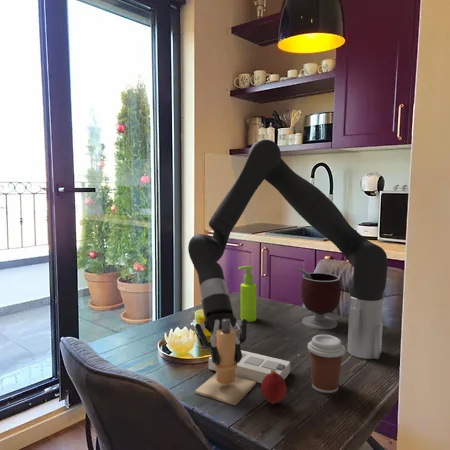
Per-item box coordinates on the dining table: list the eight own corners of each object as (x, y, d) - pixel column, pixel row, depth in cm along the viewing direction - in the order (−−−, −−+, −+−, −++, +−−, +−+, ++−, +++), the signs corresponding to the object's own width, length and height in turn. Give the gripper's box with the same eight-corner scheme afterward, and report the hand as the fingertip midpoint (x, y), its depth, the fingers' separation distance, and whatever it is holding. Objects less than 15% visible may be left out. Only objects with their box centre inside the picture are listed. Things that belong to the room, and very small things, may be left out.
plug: (240, 377, 97) (241, 318, 95) (230, 387, 92) (230, 325, 90) (221, 371, 99) (221, 314, 98) (210, 381, 94) (210, 321, 93)
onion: (283, 396, 92) (284, 363, 91) (288, 410, 86) (289, 376, 86) (259, 396, 92) (259, 364, 91) (262, 410, 86) (262, 376, 85)
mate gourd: (336, 317, 147) (338, 265, 145) (342, 331, 133) (344, 274, 131) (295, 315, 149) (296, 264, 147) (296, 328, 135) (297, 272, 133)
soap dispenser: (235, 317, 146) (235, 265, 144) (252, 315, 149) (253, 264, 146) (240, 322, 141) (241, 268, 139) (258, 320, 143) (259, 267, 141)
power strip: (290, 372, 104) (290, 360, 103) (277, 387, 96) (278, 374, 96) (224, 356, 113) (224, 345, 113) (208, 369, 106) (208, 357, 105)
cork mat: (255, 384, 98) (255, 381, 98) (235, 405, 88) (235, 403, 88) (217, 373, 103) (217, 371, 103) (195, 392, 93) (195, 390, 93)
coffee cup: (339, 400, 91) (341, 350, 89) (301, 389, 95) (302, 342, 94) (347, 382, 99) (349, 337, 97) (312, 374, 103) (313, 330, 102)
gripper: (191, 294, 98) (201, 360, 88) (244, 290, 102) (260, 353, 92) (187, 308, 104) (196, 372, 94) (238, 304, 108) (252, 365, 98)
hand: (228, 362), depth 93 cm, fingers closed on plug, 4 cm apart
